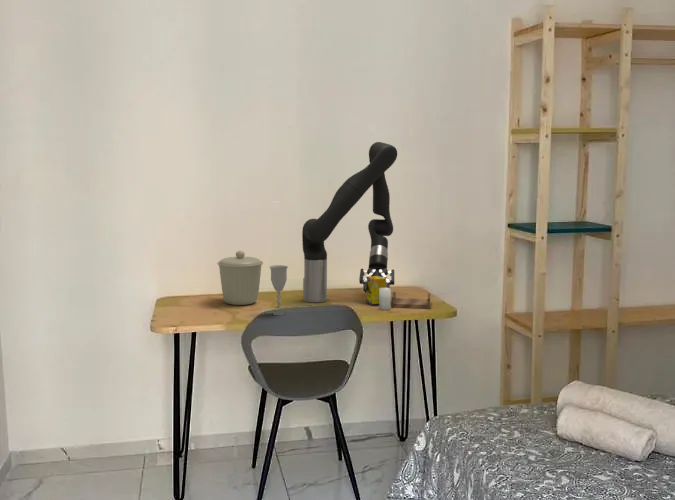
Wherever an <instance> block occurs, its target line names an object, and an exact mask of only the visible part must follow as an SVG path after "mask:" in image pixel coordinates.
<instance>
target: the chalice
mask: <svg viewBox="0 0 675 500" xmlns="http://www.w3.org/2000/svg"><path fill="white" fill-rule="evenodd" d="M288 268H289V267H288V266H287V265H281V264H280V265H278V264H277V265H276V264H275V265H270V266H269V269H270V281H271V284H272V286H273V288H274V290H275V291H276V292H277V295H276V297H277V300H276V302H277V303H276V304H277V306H276V307H274V309H276V308H283V307H282V306H281V302H282V301H281V296H282V295H281V292H283V290H284V287H285V285H286V283H287V278H288V275H287V274H288V273H287V271H288Z"/></svg>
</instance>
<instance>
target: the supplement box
mask: <svg viewBox="0 0 675 500" xmlns="http://www.w3.org/2000/svg"><path fill="white" fill-rule="evenodd" d="M367 276H368V275H367ZM367 276H366V277H367ZM380 288H386V278H383V277H381V276H368V277H367V293H366V304H368V305H370V306H372V307H374V306H375V307H376V306H378V307H379V289H380Z"/></svg>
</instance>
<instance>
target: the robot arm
mask: <svg viewBox="0 0 675 500" xmlns="http://www.w3.org/2000/svg"><path fill="white" fill-rule="evenodd" d="M397 158H398V150H397V148H396V147H395V146H394V145H391V144H389V143H385V142H381V141H376V142H374V143H373V144H371V146H370V147H369V150H368V161H369V164H368V165H366V166H365V167H364V168H363V169H362V170H359V171H358V172H356V173H354V174H352V175H351V176H349V177H348V178H347V179H346V180H345V181H344V182H343V183H342V185H340V186H339V188H338V189H337V191H335V194H334V195H333V198H332V200H331V202H330V204H329V206H328V208H326V210H325V211H324V212H323V213H322V214H321V215H320V216H319V217H318V218H310V219H308V220H306V221H305V222H304V223H303V226H302V232H301V233H302V234H301V235H302V236H301V237H302V241H301V242H302V252H303V256H304V257H303V258H304V259H303V264H304V267H303V269H304V271H303V272H304V273H303V276H304V277H303V279H302V281H303V282H302V289H303V290H302V294H303V295H302V297H303V298H302V300H303V302H307V303H323V302H327V301H328V299H327V297H328V294H327V293H328V292H327V291H328V253H327V250H326V248H325V241H327V240H328V238H329V237H330V236H331V234H332V232H333V231H334V230H335V229H336V227H337V226H338V224H339V223H340V222H341V220H342V219H344V218H345V216H347V214H348V213H349V212H350V210H351V209H352V208H354V206H356V204H357V203H358V202H359V201H360V199H361V198H362V197H363V196H364V194H366V193H367V191H368V190H369V189H370V188H371V187H372V213H373V214H375V215H376V216H377V215H378V216H381V217H383V218H384V219H381V218H380V219H379V218H373V219H371V220H370V221H369V222H368V225H367V229H368V233H369V236H370V243H371V244H370V251H369V256H368V257H369V259H368V268H367V269H364V268H360V272H359V278H358V281H359V284H362V285H363V287H362V291H363V292H364V293H366V294H367V277H368V276H381V277H383V278H386V288H391V286H394V285H395V269H391V270H388V260H389V257H388V256H389V254H388V248H389V240H388V239H387V237H390V236H392V234H393V233H394V224H393V222H392V221H393V220H392V217H391V211H390V201H391V200H390V196H391V195H390V189H389V186H388V184H387V180H386V179H387V178H386V175H385V172H386V171H388V170H389V169H390V168H391V166H393V165H394V163H395V162H396V160H397ZM366 274H367V276H366ZM388 275H389V276H390V277H391V278H390V280H389V278H388ZM364 276H366V277H365V278H364Z"/></svg>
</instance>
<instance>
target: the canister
mask: <svg viewBox="0 0 675 500" xmlns="http://www.w3.org/2000/svg"><path fill="white" fill-rule="evenodd" d="M245 254H246V253H245V252H244V251H243V250H238V251H236V252H235V256H228V257H224V258H222V259H220V260H219V261H217V265H218V267H219V269H218V270H219V275H220V283H221V284H220V285H221V292H222V296H223V300H224V302H225V304H227V305H228V304H229V305H233V306H246V305H252V304H254V303H256V301H257V300H258V298H259V292H260V282H261V275H262V274H261V273H262V265H263V264H264V262H263V261H262V260H260V259H259V258H257V257H252V256H245Z"/></svg>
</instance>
